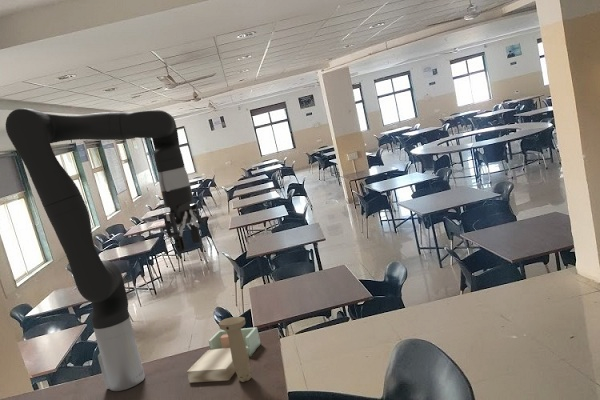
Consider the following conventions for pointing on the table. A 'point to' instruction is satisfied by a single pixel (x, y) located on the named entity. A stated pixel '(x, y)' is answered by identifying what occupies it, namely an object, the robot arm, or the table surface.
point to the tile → (225, 341)
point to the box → (249, 338)
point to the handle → (237, 346)
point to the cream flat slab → (212, 366)
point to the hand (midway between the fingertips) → (189, 246)
